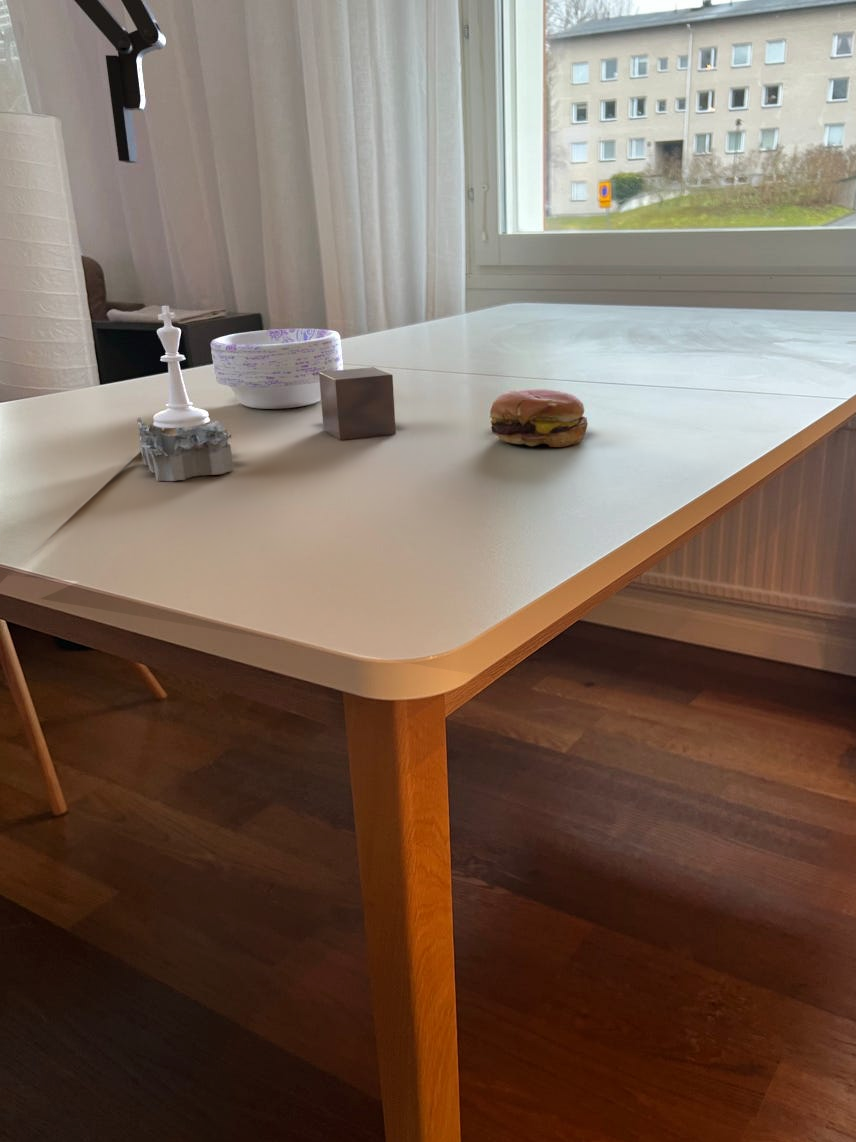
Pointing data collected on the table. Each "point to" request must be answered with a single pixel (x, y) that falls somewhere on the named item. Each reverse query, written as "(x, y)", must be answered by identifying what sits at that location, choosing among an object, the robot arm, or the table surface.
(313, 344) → the paper bowls
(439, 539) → the table surface
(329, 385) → the walnut block
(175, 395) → the chess piece
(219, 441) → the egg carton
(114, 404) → the table surface
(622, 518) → the table surface
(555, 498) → the table surface
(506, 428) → the burger
